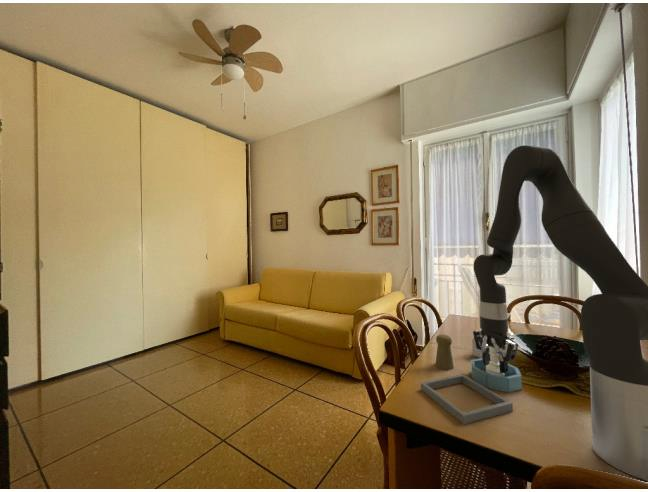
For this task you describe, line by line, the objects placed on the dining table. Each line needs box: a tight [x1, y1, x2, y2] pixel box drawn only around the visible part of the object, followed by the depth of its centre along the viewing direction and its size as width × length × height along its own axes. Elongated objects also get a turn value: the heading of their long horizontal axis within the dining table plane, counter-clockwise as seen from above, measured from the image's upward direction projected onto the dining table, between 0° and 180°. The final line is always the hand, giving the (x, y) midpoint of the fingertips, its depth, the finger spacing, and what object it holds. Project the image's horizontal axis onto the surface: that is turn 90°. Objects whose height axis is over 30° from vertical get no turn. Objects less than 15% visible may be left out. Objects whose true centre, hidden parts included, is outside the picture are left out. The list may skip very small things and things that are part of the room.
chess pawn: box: [486, 346, 505, 376], centre depth 80 cm, size 5×5×9 cm
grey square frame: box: [420, 374, 514, 425], centre depth 70 cm, size 16×16×2 cm
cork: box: [435, 334, 454, 371], centre depth 91 cm, size 6×6×11 cm
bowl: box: [470, 357, 523, 393], centre depth 80 cm, size 13×13×4 cm
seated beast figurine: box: [507, 312, 515, 336], centre depth 121 cm, size 10×9×12 cm
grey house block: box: [471, 328, 490, 359], centre depth 99 cm, size 4×7×10 cm, turn 122°
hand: (494, 368), depth 80 cm, fingers closed on chess pawn, 5 cm apart
